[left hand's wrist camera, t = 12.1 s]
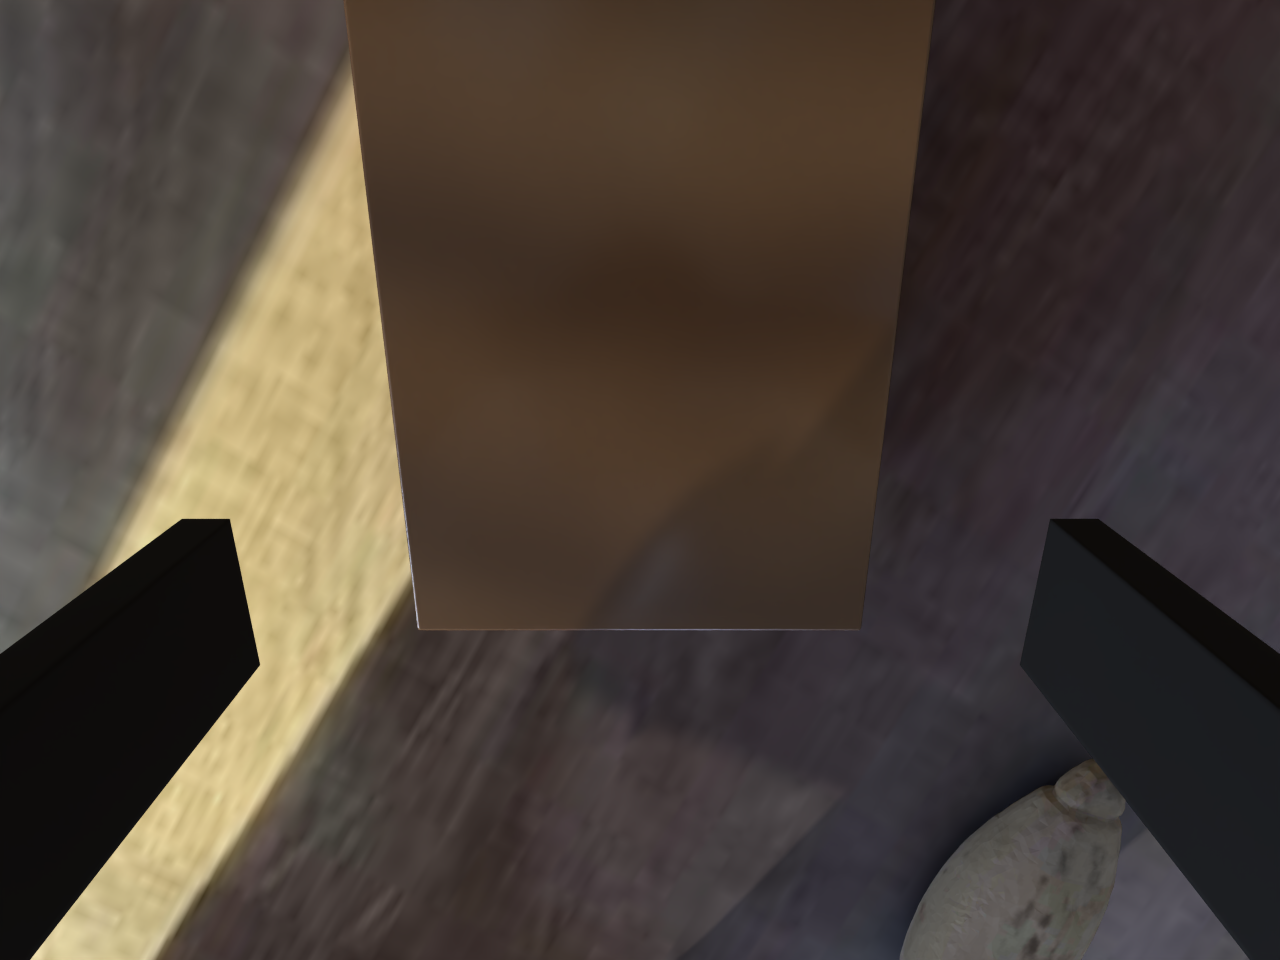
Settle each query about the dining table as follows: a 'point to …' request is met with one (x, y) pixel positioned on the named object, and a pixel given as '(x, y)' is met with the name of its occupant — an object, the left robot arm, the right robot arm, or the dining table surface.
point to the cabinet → (639, 299)
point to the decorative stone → (1027, 878)
